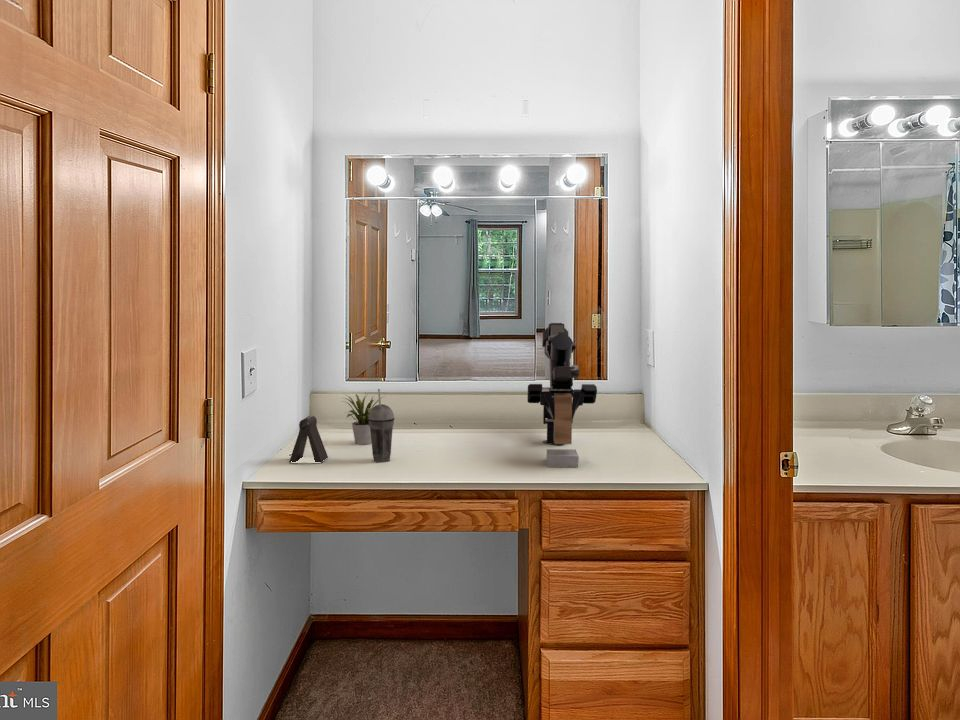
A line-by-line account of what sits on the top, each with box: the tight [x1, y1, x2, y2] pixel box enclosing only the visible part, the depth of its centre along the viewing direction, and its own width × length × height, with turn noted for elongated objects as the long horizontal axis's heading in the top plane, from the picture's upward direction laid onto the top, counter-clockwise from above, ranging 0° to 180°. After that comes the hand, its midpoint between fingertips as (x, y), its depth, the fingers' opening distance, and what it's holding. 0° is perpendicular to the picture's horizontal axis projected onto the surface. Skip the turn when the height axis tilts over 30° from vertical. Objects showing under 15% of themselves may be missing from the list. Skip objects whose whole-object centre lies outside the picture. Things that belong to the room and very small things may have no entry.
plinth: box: [545, 448, 580, 468], centre depth 183 cm, size 8×8×3 cm
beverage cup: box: [368, 388, 396, 463], centre depth 186 cm, size 7×7×20 cm
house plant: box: [341, 391, 386, 446], centre depth 208 cm, size 14×14×16 cm
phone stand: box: [288, 415, 329, 463], centre depth 186 cm, size 9×6×12 cm, turn 86°
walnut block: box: [553, 393, 573, 445], centre depth 182 cm, size 4×4×13 cm
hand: (563, 419), depth 181 cm, fingers closed on walnut block, 4 cm apart
